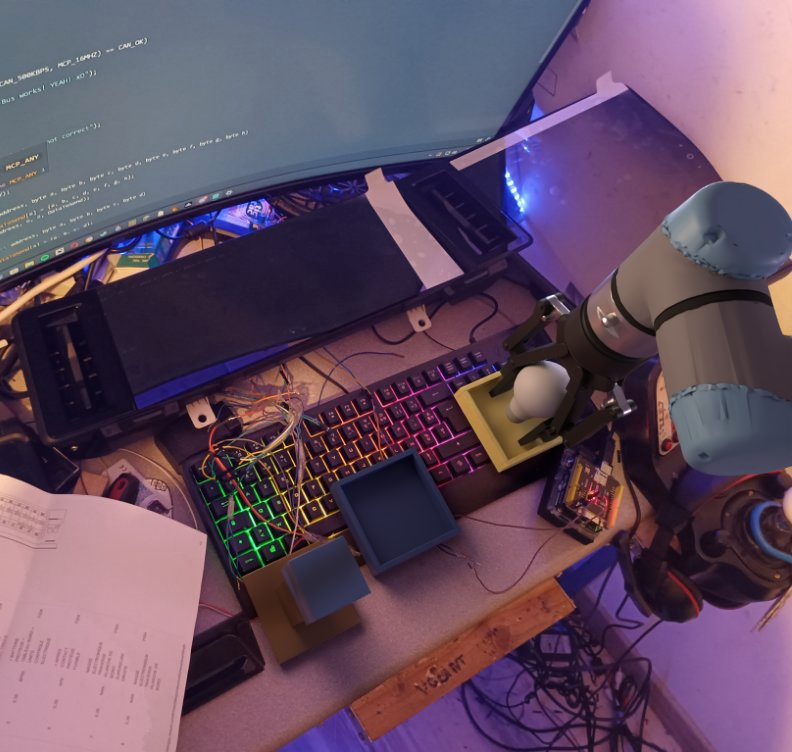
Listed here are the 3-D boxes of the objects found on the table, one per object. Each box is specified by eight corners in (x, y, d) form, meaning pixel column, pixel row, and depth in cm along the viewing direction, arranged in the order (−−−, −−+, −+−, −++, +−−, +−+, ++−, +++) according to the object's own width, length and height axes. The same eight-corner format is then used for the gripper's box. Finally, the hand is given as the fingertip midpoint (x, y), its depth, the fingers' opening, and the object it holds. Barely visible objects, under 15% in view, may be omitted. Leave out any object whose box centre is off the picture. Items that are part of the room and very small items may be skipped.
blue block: (358, 599, 62) (371, 592, 57) (306, 625, 60) (316, 620, 56) (332, 546, 63) (343, 535, 59) (281, 570, 62) (288, 560, 57)
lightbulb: (486, 434, 82) (527, 398, 72) (489, 386, 84) (529, 345, 74) (537, 446, 82) (585, 411, 72) (539, 397, 85) (586, 358, 75)
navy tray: (453, 536, 77) (462, 532, 75) (372, 577, 74) (378, 573, 72) (408, 453, 80) (414, 446, 78) (328, 489, 78) (332, 483, 75)
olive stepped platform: (358, 623, 72) (389, 611, 61) (278, 664, 70) (295, 660, 59) (319, 541, 75) (341, 516, 64) (241, 578, 73) (250, 558, 62)
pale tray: (568, 439, 84) (579, 432, 81) (497, 473, 81) (507, 467, 78) (522, 365, 87) (531, 356, 85) (452, 396, 84) (460, 387, 82)
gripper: (532, 248, 64) (446, 357, 85) (655, 432, 58) (531, 500, 79) (597, 224, 66) (498, 336, 87) (722, 399, 60) (583, 474, 81)
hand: (514, 414), depth 83 cm, fingers closed on lightbulb, 6 cm apart
